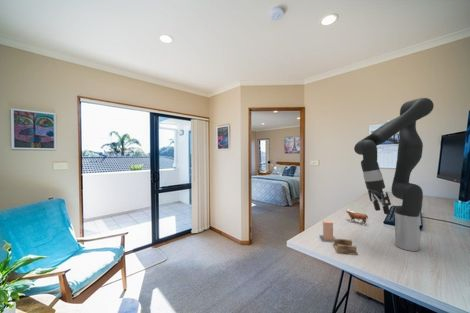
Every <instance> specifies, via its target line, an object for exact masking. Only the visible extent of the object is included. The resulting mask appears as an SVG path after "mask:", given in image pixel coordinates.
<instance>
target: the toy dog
mask: <svg viewBox="0 0 470 313" xmlns="http://www.w3.org/2000/svg"><path fill="white" fill-rule="evenodd" d="M345 213H347V215H348V217H349V218H350V221H349V223H352V222H356V221H355V220H358V221H360V220H361V222H360V224H361V225H362V226H366V223H367V220H368V219H369V216H368V215H367V214H366V213H360V212H356V211H353V210H352V209H349V208H347V209H346V211H345Z"/></svg>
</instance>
